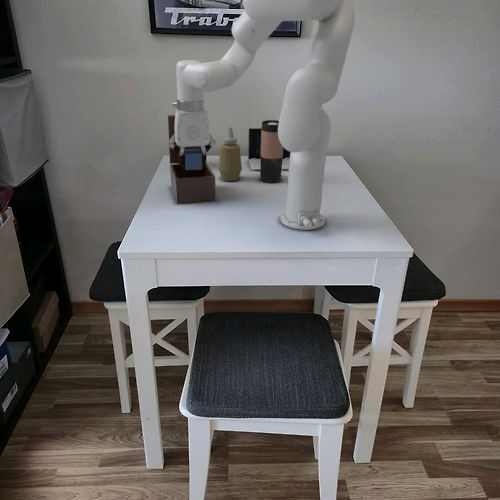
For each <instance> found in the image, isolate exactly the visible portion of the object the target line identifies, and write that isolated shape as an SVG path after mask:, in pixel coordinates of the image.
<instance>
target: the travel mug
mask: <svg viewBox="0 0 500 500" xmlns="http://www.w3.org/2000/svg"><path fill="white" fill-rule="evenodd" d="M278 124H279V120H277V119H276V120H275V119H265V120H263V121H262V122H261V128H262V132H261V170H260V181H261V182H263V183H267V184H275V183H280V182H281V181H282V180H281V179H282V171H283V170H282V159H283V146H282V145H281V143H280V141H279V138H278Z"/></svg>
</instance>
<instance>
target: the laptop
mask: <svg viewBox="0 0 500 500" xmlns="http://www.w3.org/2000/svg"><path fill="white" fill-rule="evenodd" d="M261 132H262V127H249V128H248V142H247V143H248V146H247V147H248V148H247V159H248V160H247V162H248V165H249V166H250V169H251V171H261ZM290 153H291V152H290V151H288V150H286V149H285V148H284V147H283V159H282V171H289V161H290Z"/></svg>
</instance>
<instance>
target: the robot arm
mask: <svg viewBox="0 0 500 500" xmlns="http://www.w3.org/2000/svg"><path fill="white" fill-rule="evenodd" d="M242 6H243V10H244V11H243V12H242V13H241V15H239V16H238V18H237V19H236V20H235V22H234V23H233V24H232V26H231V35H232V37H233V39H234V41H233V44H232V45H231V47H230V48H229V50H228V51H227V52H226V53H225V54H224V55H223V57H222V58H221V59H220V60H214V61H207V62H201V61H199V60H196V59H183V60H179V61H177V63H176V65H175V74H176V76H175V77H176V95H177V96H176V97H177V99H176V101H175V102H172V108H175V109H176V110H175V114H174V115H175V126H174V135H173V136H172V137H171V139H170V140H169V139H168V141H167V144H166V145H167V146H168V148H169V147H171V148H172V149H174V150H175V151H176V152H177V153H178V154H179V156H180V165H182V167H183V169H185V155H184V149H185V147H194V146H200V148H201V153H202V168H203V167H204V164H206V163H207V161H206V158H205V155H206V154H207V153H208V152H209V151H210V150H211V149H212V148H213V147H214V146H215V145H217V140H216V139H215V138H214V137H213V136H212V134H211V133H210V123H209V116H208V112H207V110H206V109H205V101H204V100H205V98H204V97H205V96H204V94H205V93H211V92H215V91H219V90H224V89H227V88H229V87H232V86H233V85H234V84H236V82H237V81H238V80H240V79H241V77H242V76H243V75H244V74H245V73H246V71H247V70H248V69H249V68H250V66H251V65H252V63H253V61H254V60H255V59H254V58H255V57H256V54H257V51H258V50H259V48H260V47H261V46H262V45H263V44H264V43H265V41H266V40H267V39H268V38H269V37H270V36H271V34H273V32H274V31H275V30H276V29H277V28H278V27H279V26H280V25H281V23H282V22H311V21H312V22H313V21H317V23H318V28H317V31H316V33H315V35H314V38H313V41H312V44H311V49H310V54H309V57H308V61H307V64H306V65H305V66H302V67H300V68H299V69H297V70H296V71H295V72H294V73H293V74H292V75H291V77H290V79H289V81H288V83H287V84H286V89H285V91H284V92H285V93H284V97H283V101H282V106H281V111H280V115H279V119H278V121H279V124H278V138H279V141H280V143H281V145H282V146H283V147H284V148H285V149H286V150H288V151H290V152H291V153H290V161H289V170H288V179H287V181H288V182H287V194H286V195H287V196H286V211H284V212H283V213H282V214H281V215H280V223H281V224H283V225H284V226H285V227H287V228H290V229H293V230H301V231H311V230H316V229H320V228H322V227H323V226H324V225H325V223H326V218H325V216H324V215H323V214H321V209H322V198H323V197H322V196H323V195H322V194H323V185H324V177H325V168H326V158H327V151H328V146H329V141H330V136H331V130H332V129H331V128H332V127H331V126H332V125H331V120H330V117H329V115H328V113H327V112H326V111H325V110H324V109H323V105H324V104H326V103H328V102H330V101H332V99H333V98H334V97H335V96H336V94H337V92H338V89H339V85H340V81H341V77H342V74H343V70H344V66H345V62H346V58H347V55H348V51H349V47H350V43H351V40H352V35H353V31H354V26H355V8H354V5H353V2H352V0H242ZM204 92H205V93H204ZM174 142H176V144H177V145H178V146H179V148H178V147H177V146H176V145H174V144H173V143H174Z"/></svg>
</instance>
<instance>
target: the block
mask: <svg viewBox="0 0 500 500" xmlns="http://www.w3.org/2000/svg"><path fill="white" fill-rule="evenodd" d="M184 155H185V169H186V170H200V169H202V153H201V151H200V150H199V149H188V150H184Z"/></svg>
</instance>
